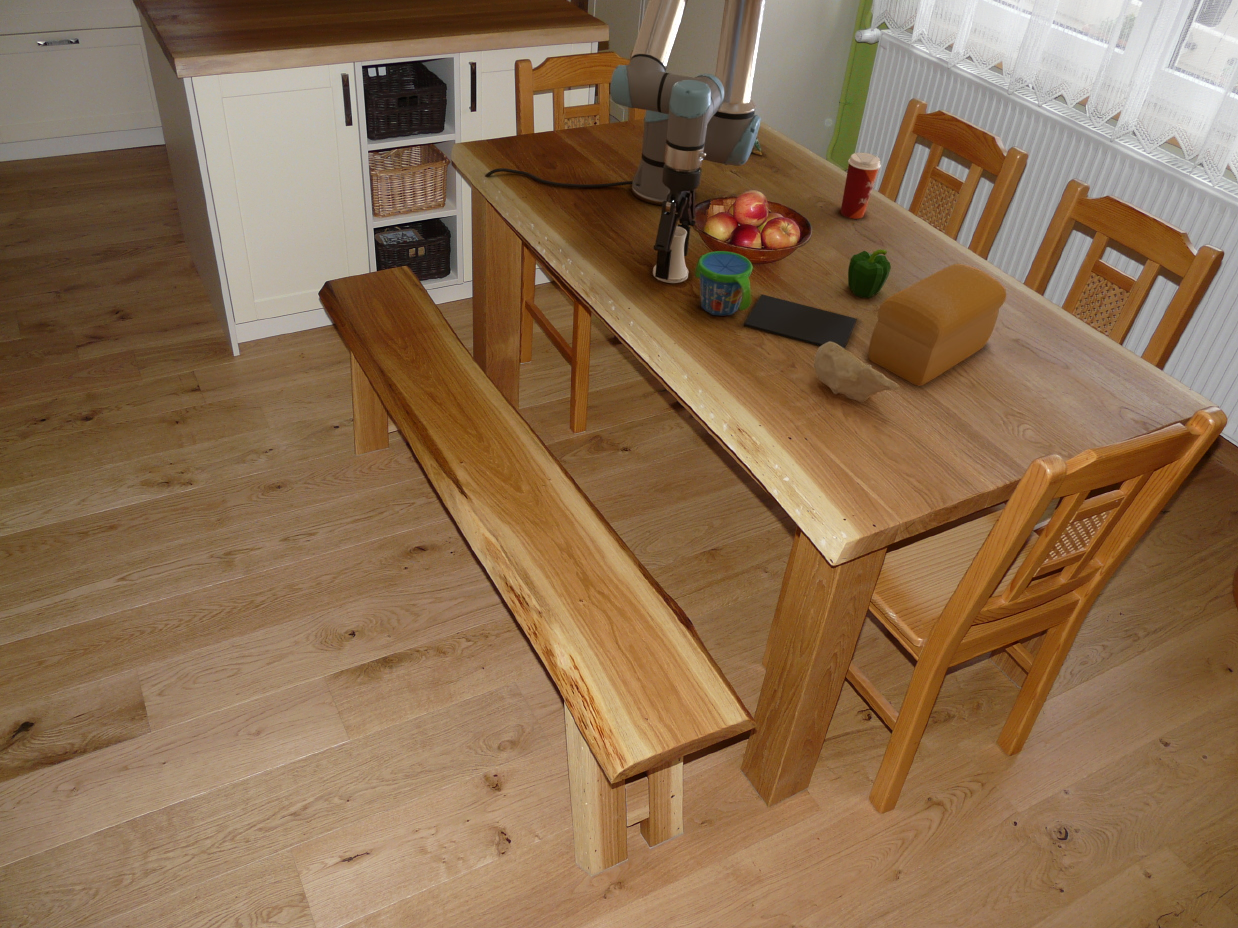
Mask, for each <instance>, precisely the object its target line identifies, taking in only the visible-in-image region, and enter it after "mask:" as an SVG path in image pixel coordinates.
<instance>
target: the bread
mask: <svg viewBox="0 0 1238 928" xmlns="http://www.w3.org/2000/svg"><path fill="white" fill-rule="evenodd" d="M1006 291H1007V290H1006V288H1005V287H1004V286H1003V284H1002V283H1001V282H1000V281H999V280H998V279H996V278H994V277H993V276H992V275H990V274H988V273H987V272H985V271H984V270H982V269H979V268H977V267H974V266H971V265H967V264H964V263H954V264H951V265H948V266H946V267H944V268H942V269H940V270H938V271H936V272H934V273H933V274H931V275H928V276H927V277H924V278H923V279H921V280H919V281H917V282H915V283H913V284H911V285H909V286H907V287H905V288H904V289H902V290H900V291H898V292H896V293H894V294H892V295H891V296H889V297H887V298H886V299H885V300H883V302H882V303H880V305H879V307H878V309H877V322H876V323H875V326H874V328H873V331H872V335H871V338H870V341H869V343H868V344H869V345H868V351H867V352H868V356H867V357H868V360H869V361H871V362H872V363H874V364H877V365H878V366H879V367H882V368H883V369H885V370H887V371H888V372H891V373H892V374H894V375H896V376H898V377H899V378H901V379H902V380H905V381H907V382H908V383H910V384H912V385H915V386H918V387H919V386H923V385H926V384H927V383H929V382H931V381H932V380H934V379H936V378H937V377H939V376H940V375H942V374H943V373H945V372H947V371H948V370H950V369H952V368H953V367H955V366H956V365H958V364H959V363H961V362H963V361H965V360H966V359H968V358H969V357H971V356H972V355H974V354H976V353H977V352H978V351H980V350H982V349H983V348H984V347H985V346H986V344H987V342H988V341H989V340H990V338H991V336H992V333H993V331H994V329H995V325H996V323H997V320H998V316H999V312H1000V309H1001V308H1002V306H1003V305H1004V303H1005V301H1006V300H1007V292H1006Z"/></svg>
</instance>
